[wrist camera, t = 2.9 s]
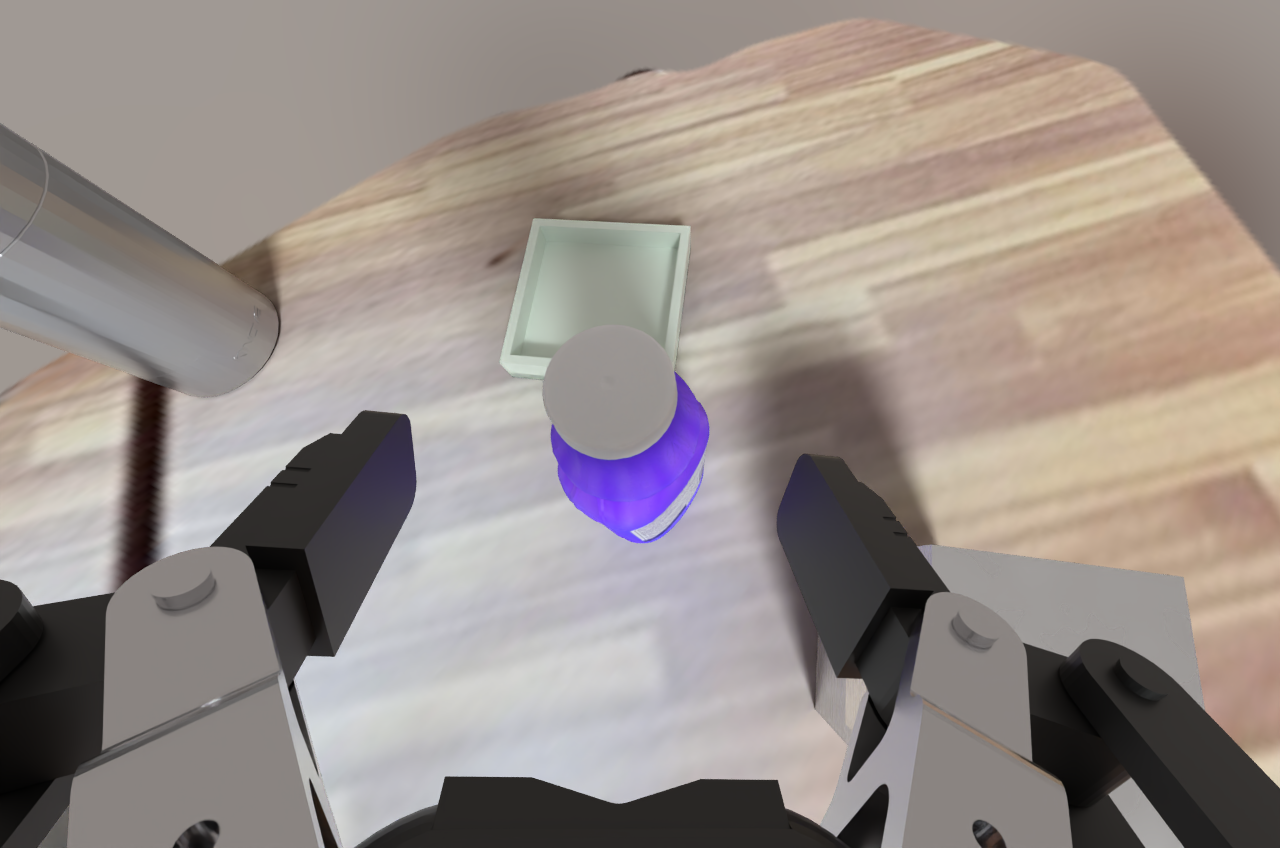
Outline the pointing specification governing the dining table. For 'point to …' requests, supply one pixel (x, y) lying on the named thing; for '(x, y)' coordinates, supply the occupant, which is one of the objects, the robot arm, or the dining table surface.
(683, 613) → the dining table surface
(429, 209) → the dining table surface
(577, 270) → the tray
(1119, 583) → the dispenser
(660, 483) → the bottle
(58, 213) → the robot arm
